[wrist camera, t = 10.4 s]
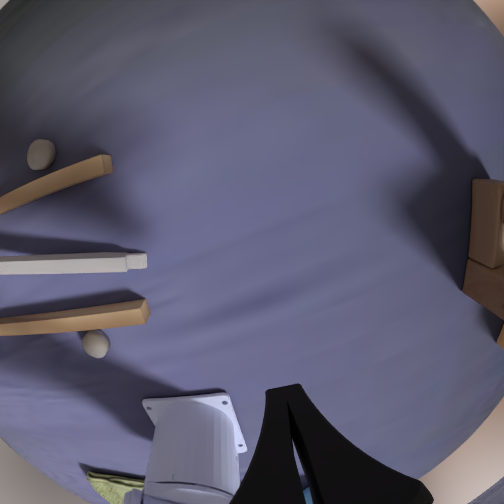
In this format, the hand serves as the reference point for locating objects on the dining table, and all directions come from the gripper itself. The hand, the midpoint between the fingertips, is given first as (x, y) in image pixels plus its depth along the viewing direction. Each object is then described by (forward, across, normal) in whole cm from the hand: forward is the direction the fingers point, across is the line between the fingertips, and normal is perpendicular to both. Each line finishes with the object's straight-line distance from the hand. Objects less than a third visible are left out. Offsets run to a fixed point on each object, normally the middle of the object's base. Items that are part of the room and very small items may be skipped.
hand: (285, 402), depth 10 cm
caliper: (+10, +17, -6) cm, 21 cm away
